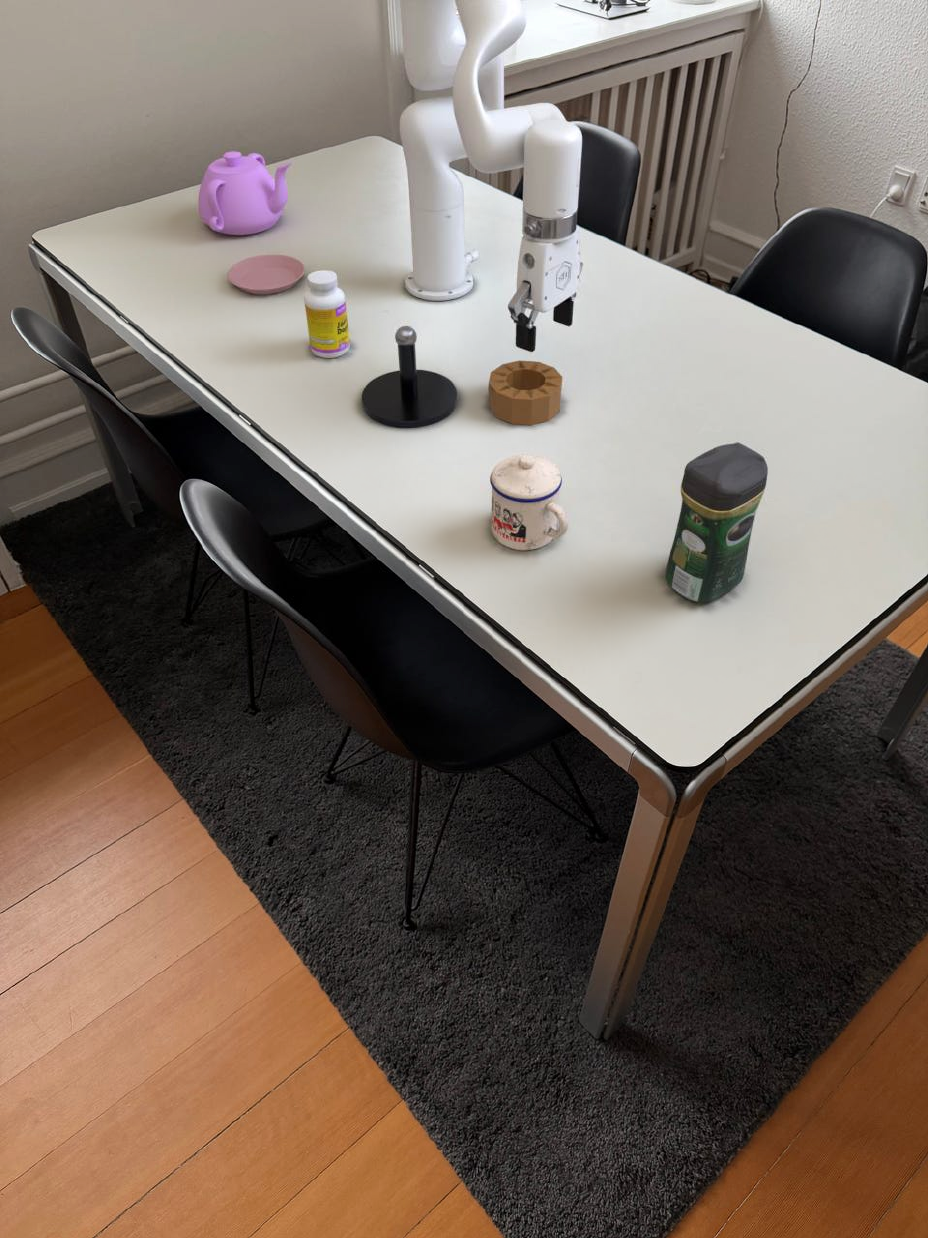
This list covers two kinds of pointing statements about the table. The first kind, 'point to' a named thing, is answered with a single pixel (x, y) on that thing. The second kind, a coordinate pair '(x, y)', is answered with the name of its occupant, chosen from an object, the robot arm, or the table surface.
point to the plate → (266, 274)
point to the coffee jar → (715, 521)
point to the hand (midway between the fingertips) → (544, 335)
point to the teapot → (242, 194)
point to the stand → (409, 391)
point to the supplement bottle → (326, 315)
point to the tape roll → (525, 392)
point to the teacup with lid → (526, 502)
